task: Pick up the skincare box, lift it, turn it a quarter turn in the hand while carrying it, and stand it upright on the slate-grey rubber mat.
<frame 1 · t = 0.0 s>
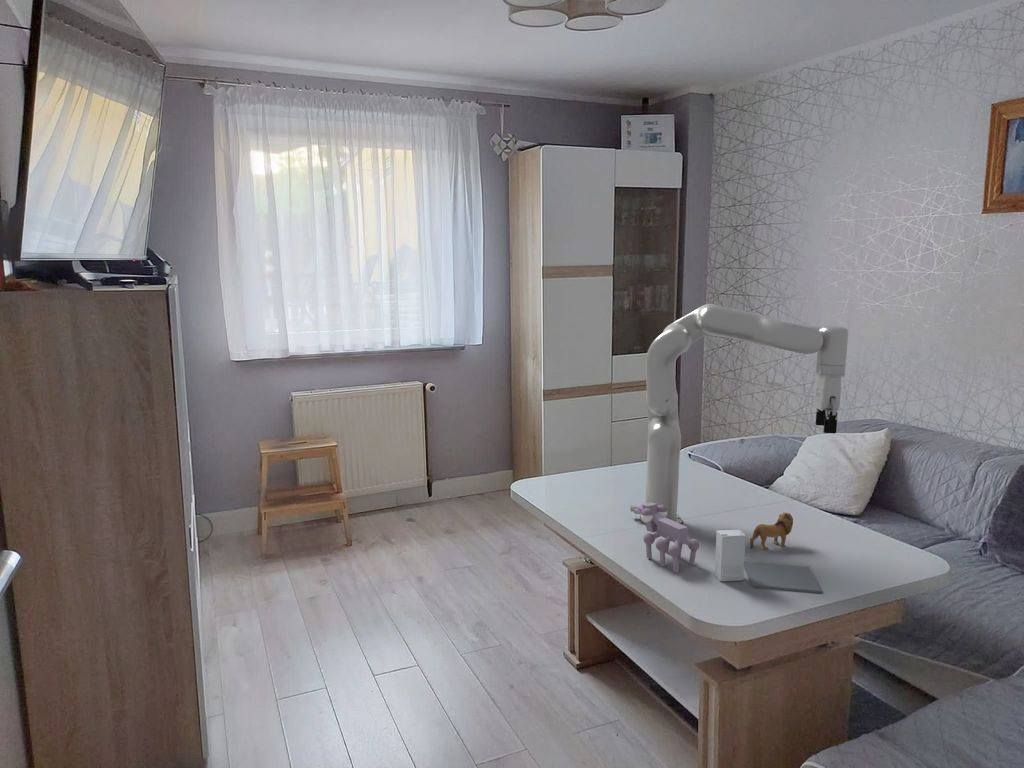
hand: (825, 429, 199), 31 cm above the table, tool pointing down, fingers open, 9 cm apart
skincare box: (728, 578, 174), on the table
mat: (780, 577, 174), on the table
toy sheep: (660, 557, 187), on the table
lion figurine: (770, 546, 195), on the table
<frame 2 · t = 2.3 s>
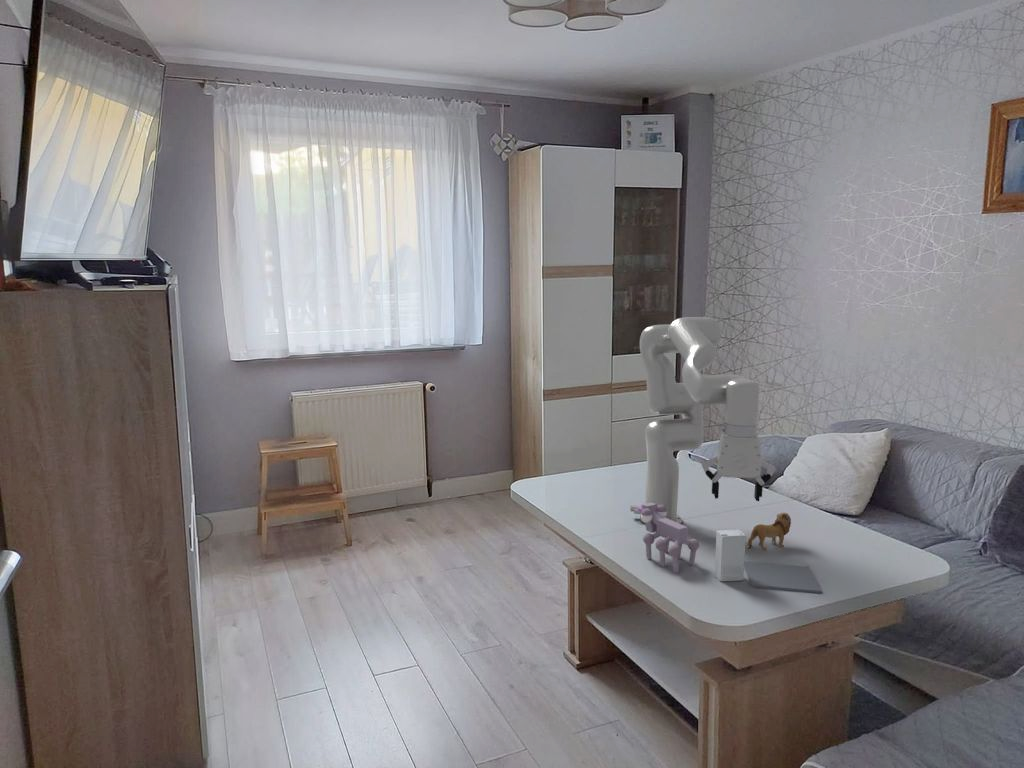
hand: (736, 498, 171), 21 cm above the table, tool pointing down, fingers open, 9 cm apart
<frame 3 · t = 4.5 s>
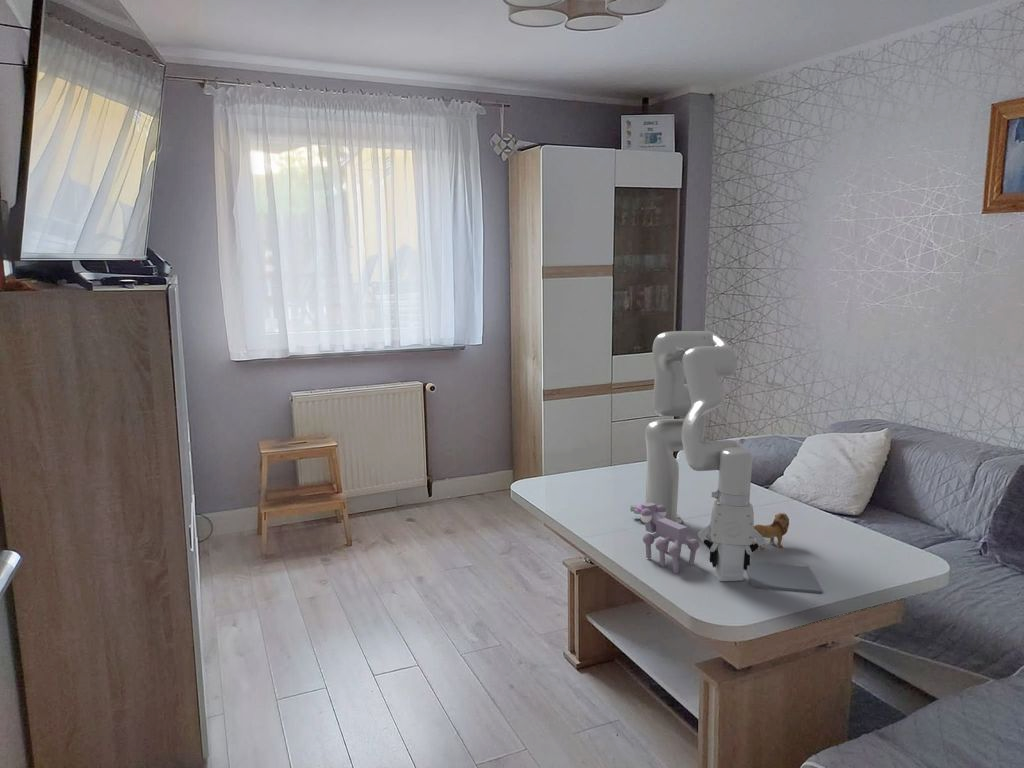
hand: (729, 565, 173), 3 cm above the table, tool pointing down, fingers closed on skincare box, 6 cm apart
skincare box: (728, 578, 174), on the table, touching gripper
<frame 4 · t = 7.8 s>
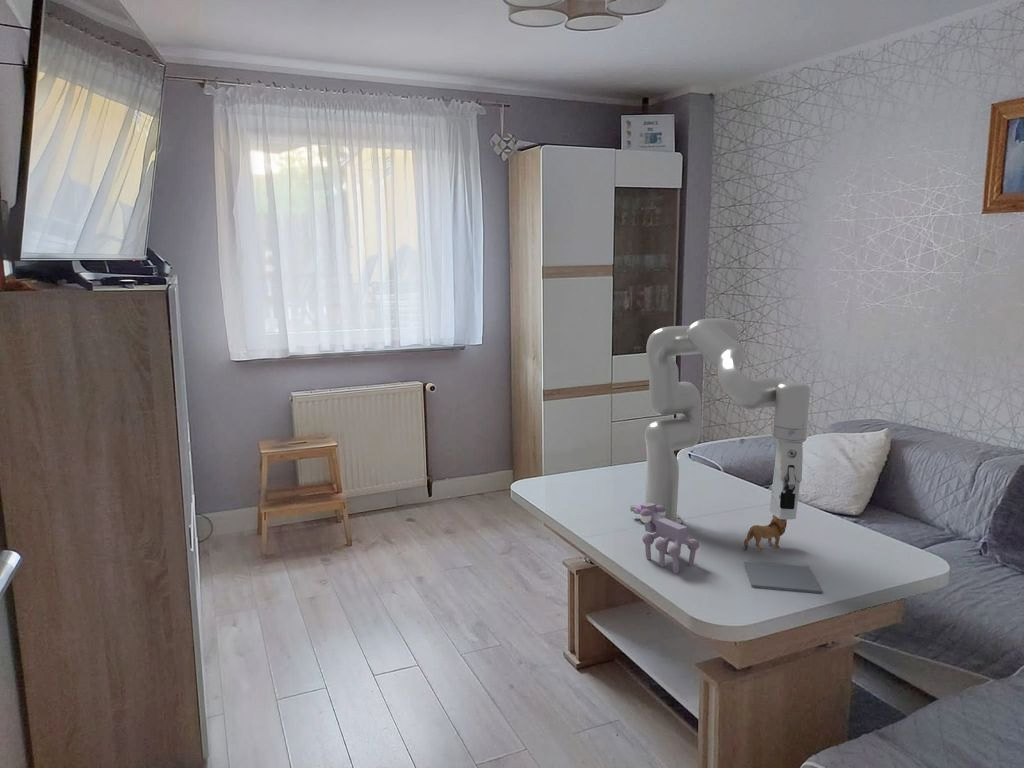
hand: (784, 502, 171), 20 cm above the table, tool pointing down, fingers closed on skincare box, 6 cm apart
skincare box: (783, 516, 172), point 16 cm above the table, touching gripper
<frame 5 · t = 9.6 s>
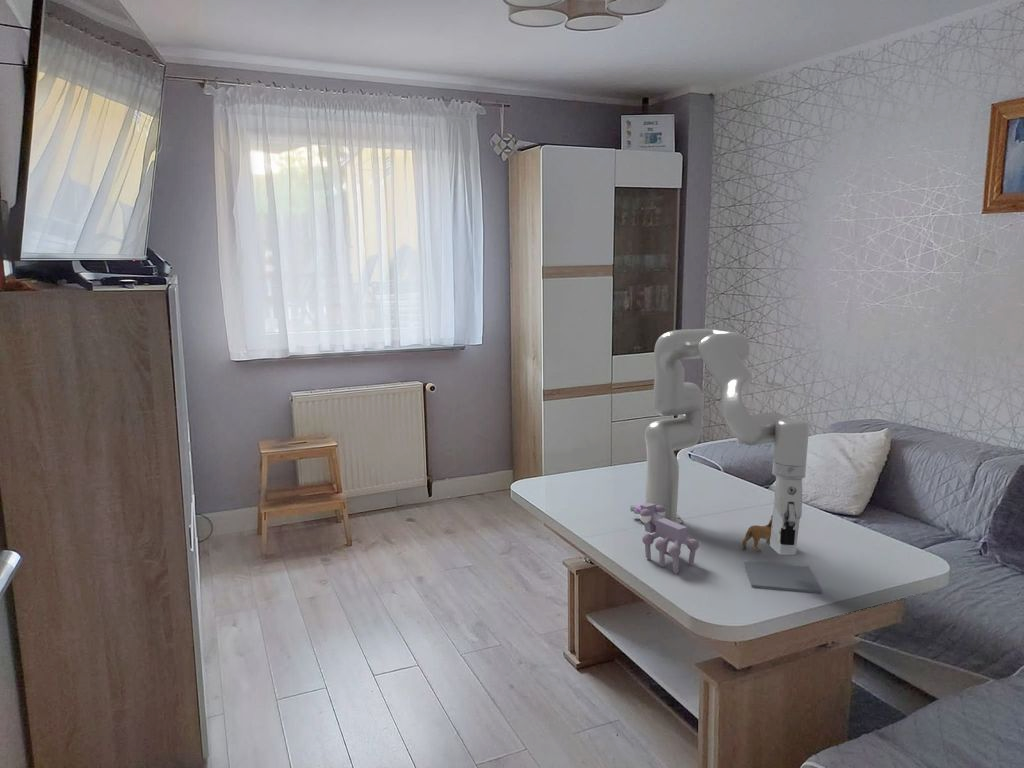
hand: (784, 537, 173), 11 cm above the table, tool pointing down, fingers closed on skincare box, 6 cm apart
skincare box: (783, 551, 173), point 7 cm above the table, touching gripper
when the fingers open (5 cm above the table, at t = 11.2 s): skincare box drops 1 cm, resting on mat.
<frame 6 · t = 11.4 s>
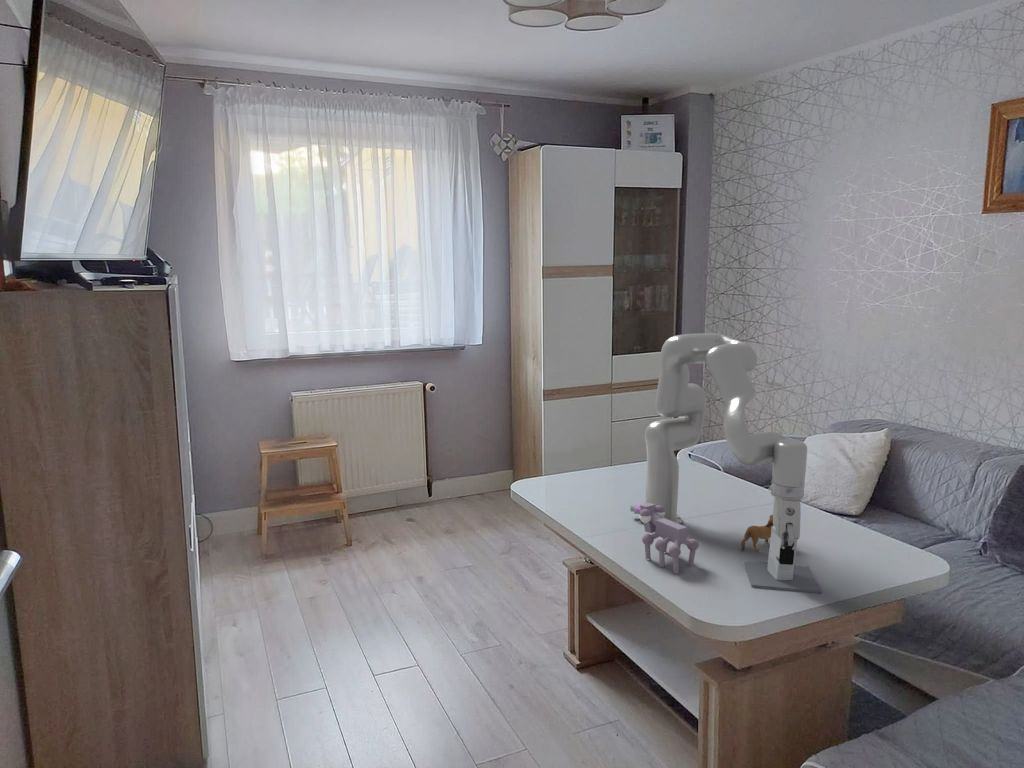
hand: (782, 556, 174), 6 cm above the table, tool pointing down, fingers open, 8 cm apart
skincare box: (780, 576, 174), resting on mat
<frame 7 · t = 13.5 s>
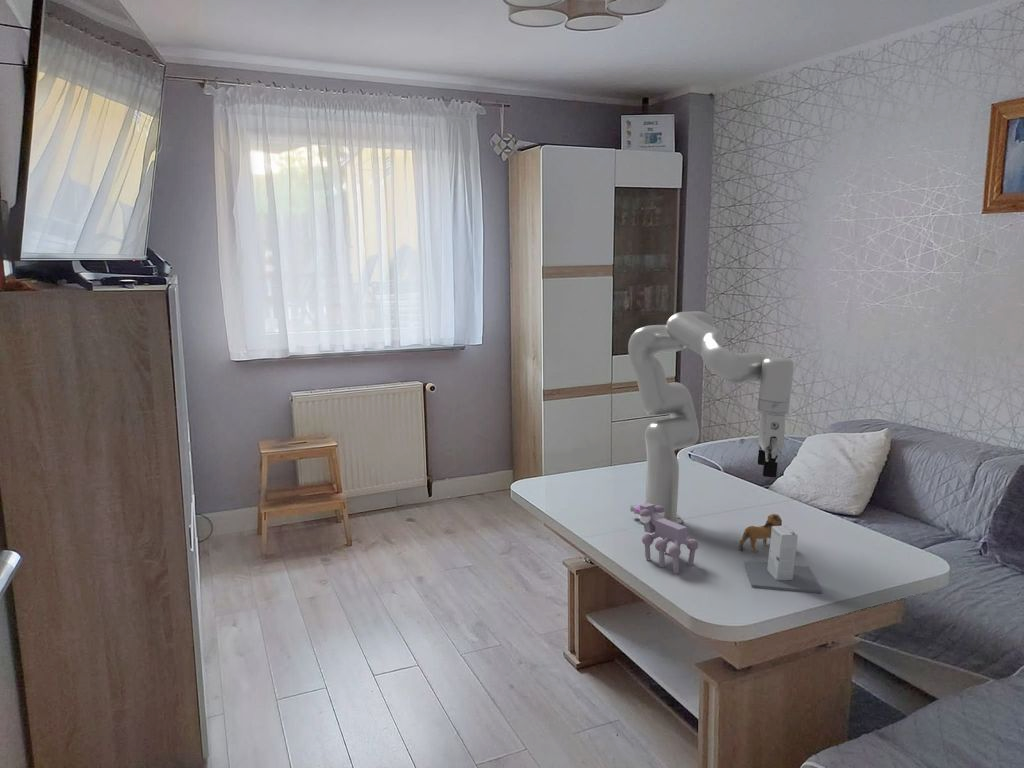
hand: (766, 470, 179), 25 cm above the table, tool pointing down, fingers open, 9 cm apart
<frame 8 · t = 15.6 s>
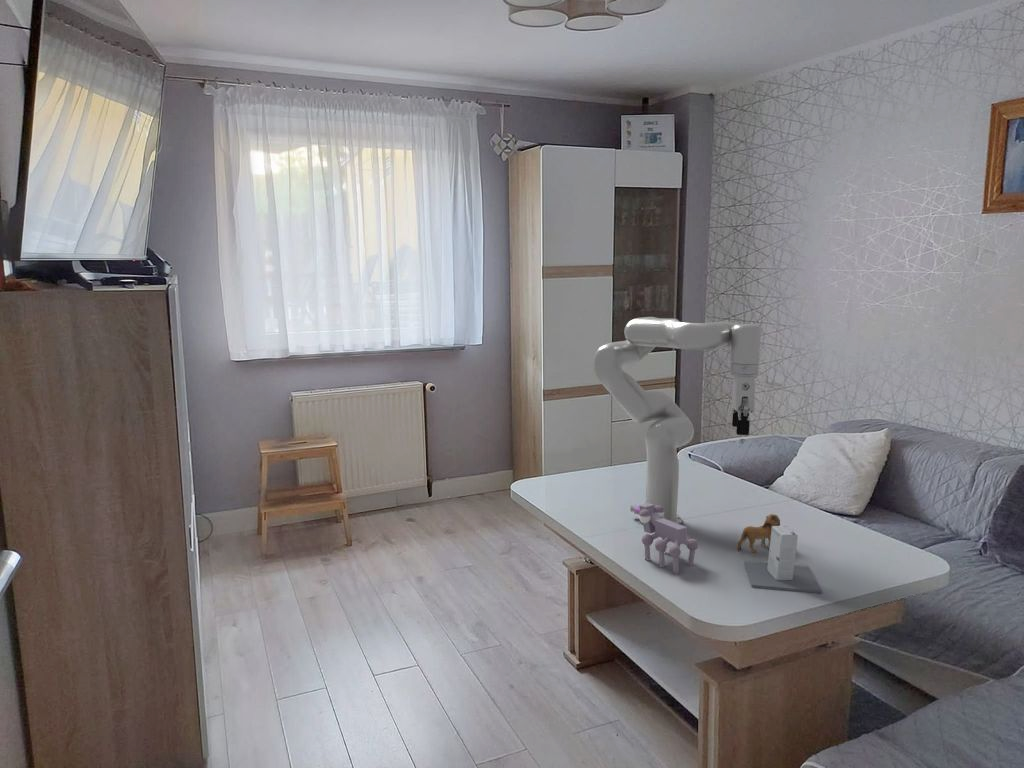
hand: (740, 430, 192), 32 cm above the table, tool pointing down, fingers open, 9 cm apart
at the end: skincare box inside the target area on the mat (0.1 cm from its centre), point 0.4 cm above the mat's base; skincare box tilted 0°; the gripper is holding nothing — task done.
